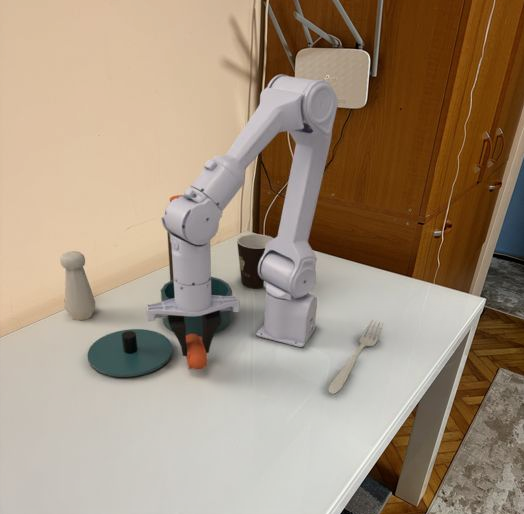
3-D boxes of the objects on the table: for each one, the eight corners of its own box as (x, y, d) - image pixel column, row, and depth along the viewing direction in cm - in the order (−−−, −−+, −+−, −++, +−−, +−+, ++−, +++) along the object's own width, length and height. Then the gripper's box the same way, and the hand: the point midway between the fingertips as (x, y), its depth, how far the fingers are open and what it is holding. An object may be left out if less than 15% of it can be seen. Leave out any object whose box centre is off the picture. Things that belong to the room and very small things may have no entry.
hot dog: (209, 371, 83) (208, 356, 81) (190, 374, 82) (189, 359, 80) (199, 344, 90) (199, 329, 88) (182, 346, 89) (181, 331, 87)
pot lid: (188, 348, 92) (188, 328, 90) (135, 390, 81) (132, 368, 79) (127, 326, 98) (125, 306, 95) (70, 362, 87) (65, 341, 85)
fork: (321, 390, 83) (322, 381, 82) (368, 326, 101) (370, 318, 100) (340, 397, 82) (341, 388, 81) (384, 331, 100) (386, 323, 99)
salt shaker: (88, 324, 98) (77, 261, 91) (60, 320, 99) (48, 258, 92) (102, 310, 103) (93, 249, 96) (76, 306, 104) (65, 246, 97)
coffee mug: (274, 291, 113) (276, 249, 108) (235, 290, 113) (235, 247, 108) (274, 270, 123) (276, 230, 118) (238, 268, 123) (238, 228, 117)
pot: (243, 314, 104) (244, 285, 100) (206, 343, 94) (205, 313, 90) (189, 297, 109) (188, 270, 106) (149, 324, 99) (146, 294, 95)
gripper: (232, 263, 83) (232, 334, 90) (141, 270, 79) (149, 343, 86) (243, 281, 77) (241, 355, 84) (145, 290, 74) (153, 367, 81)
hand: (195, 351), depth 85 cm, fingers closed on hot dog, 3 cm apart
